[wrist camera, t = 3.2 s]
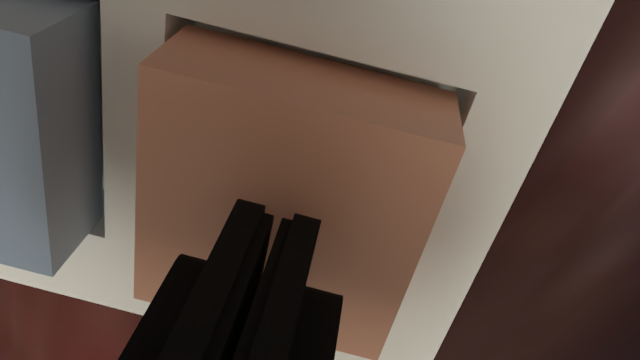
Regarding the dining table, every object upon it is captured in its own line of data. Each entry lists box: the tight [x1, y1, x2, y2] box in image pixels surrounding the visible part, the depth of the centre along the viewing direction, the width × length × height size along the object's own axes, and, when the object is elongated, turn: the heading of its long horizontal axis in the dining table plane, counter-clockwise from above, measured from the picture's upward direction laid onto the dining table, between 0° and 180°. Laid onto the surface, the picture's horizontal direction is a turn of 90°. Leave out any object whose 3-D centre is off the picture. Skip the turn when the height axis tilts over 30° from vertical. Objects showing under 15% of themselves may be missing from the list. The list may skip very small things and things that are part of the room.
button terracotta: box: [134, 24, 466, 360], centre depth 12 cm, size 6×6×2 cm
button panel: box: [0, 0, 615, 360], centre depth 15 cm, size 12×26×4 cm, turn 78°
